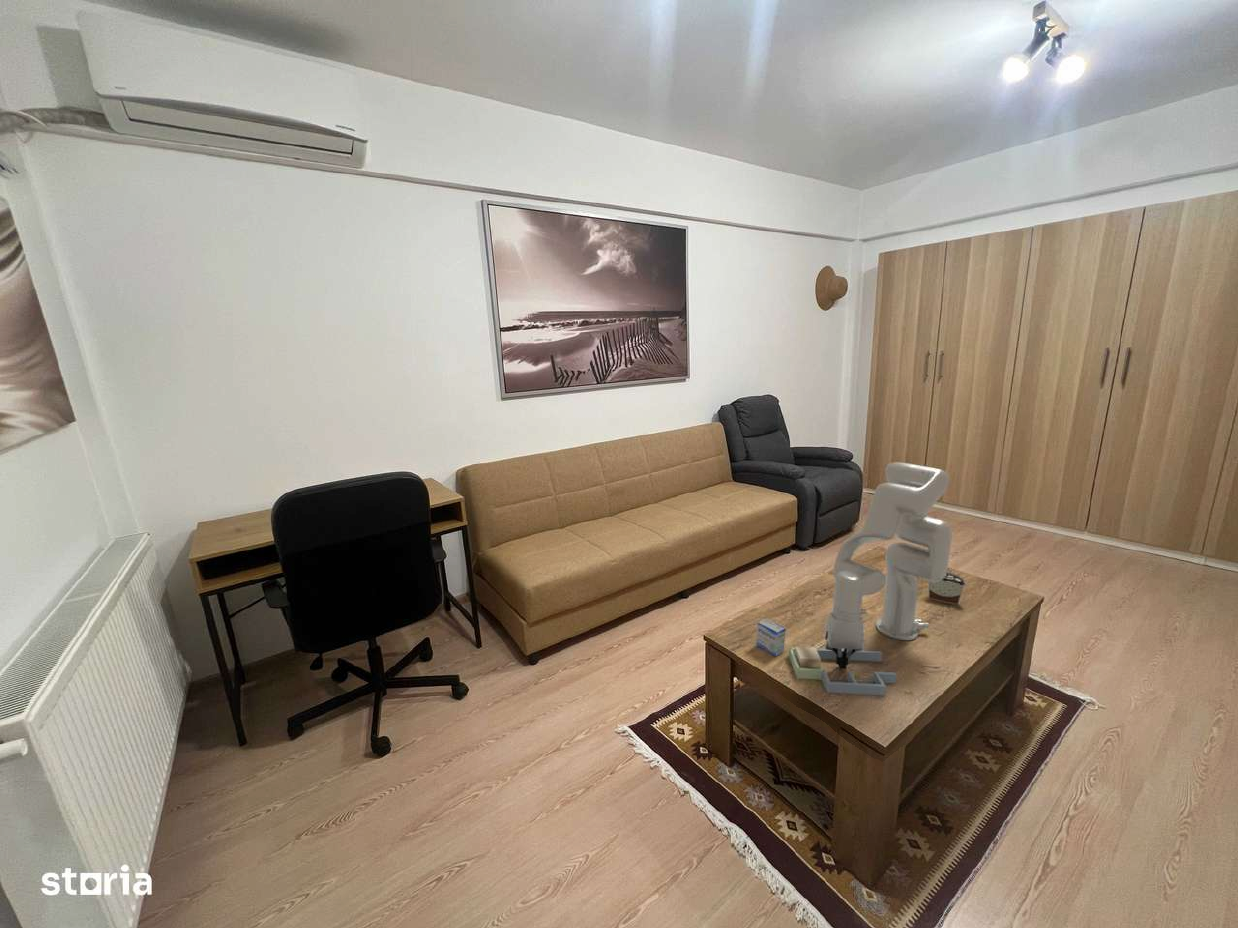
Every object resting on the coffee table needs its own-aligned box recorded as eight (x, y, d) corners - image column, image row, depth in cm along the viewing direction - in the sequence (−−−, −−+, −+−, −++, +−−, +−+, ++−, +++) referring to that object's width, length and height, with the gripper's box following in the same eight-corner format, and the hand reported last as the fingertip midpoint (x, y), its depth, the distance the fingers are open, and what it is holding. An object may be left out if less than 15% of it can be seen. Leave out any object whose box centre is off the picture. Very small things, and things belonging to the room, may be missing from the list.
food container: (962, 598, 189) (965, 574, 186) (962, 605, 184) (966, 581, 181) (924, 591, 195) (927, 567, 193) (924, 597, 190) (927, 573, 188)
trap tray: (880, 659, 154) (881, 651, 153) (904, 696, 138) (905, 687, 137) (788, 655, 157) (789, 647, 156) (801, 691, 141) (802, 682, 140)
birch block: (814, 661, 154) (815, 647, 153) (819, 674, 148) (821, 659, 147) (794, 660, 155) (795, 646, 153) (799, 673, 149) (800, 658, 148)
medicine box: (755, 645, 163) (756, 622, 161) (764, 640, 165) (765, 617, 163) (776, 657, 156) (777, 632, 154) (784, 651, 159) (786, 627, 157)
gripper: (868, 606, 148) (862, 659, 153) (816, 604, 150) (812, 657, 154) (878, 620, 141) (872, 675, 145) (823, 618, 143) (819, 672, 147)
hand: (841, 666), depth 150 cm, fingers closed
